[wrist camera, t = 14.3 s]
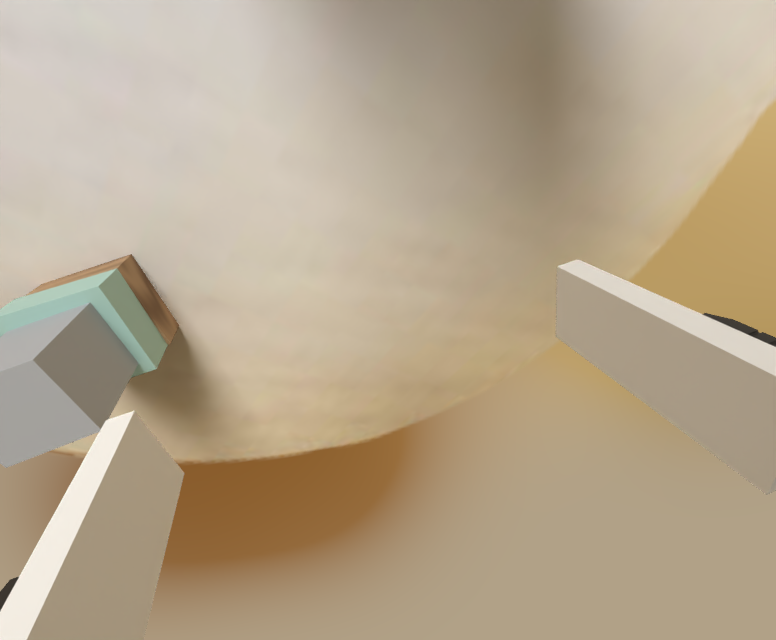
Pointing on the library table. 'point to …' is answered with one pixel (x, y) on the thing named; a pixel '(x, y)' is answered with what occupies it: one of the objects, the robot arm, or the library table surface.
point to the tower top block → (111, 304)
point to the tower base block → (137, 285)
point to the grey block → (58, 381)
